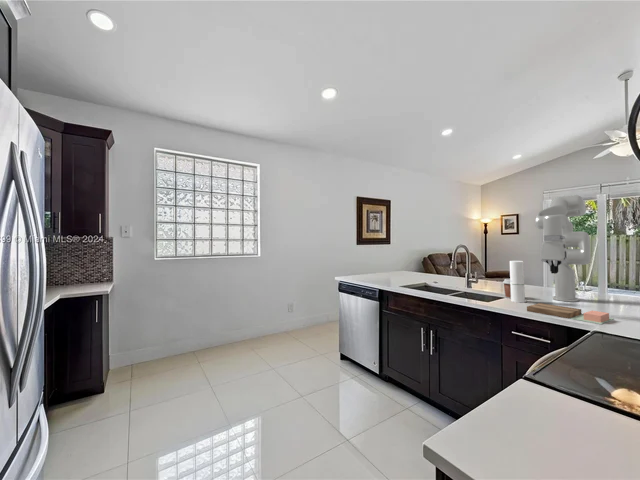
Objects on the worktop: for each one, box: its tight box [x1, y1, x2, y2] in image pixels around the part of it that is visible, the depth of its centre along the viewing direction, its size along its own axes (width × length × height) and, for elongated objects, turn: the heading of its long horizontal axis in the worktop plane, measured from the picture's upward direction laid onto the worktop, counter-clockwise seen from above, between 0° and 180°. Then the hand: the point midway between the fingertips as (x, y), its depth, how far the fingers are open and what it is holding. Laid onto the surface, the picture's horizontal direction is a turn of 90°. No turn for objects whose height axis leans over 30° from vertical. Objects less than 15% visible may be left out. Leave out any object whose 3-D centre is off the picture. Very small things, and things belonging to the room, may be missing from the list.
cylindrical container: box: [509, 260, 526, 304], centre depth 175 cm, size 7×7×25 cm
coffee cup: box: [502, 278, 511, 300], centre depth 185 cm, size 9×9×12 cm
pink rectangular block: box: [583, 310, 610, 323], centre depth 132 cm, size 9×6×3 cm, turn 117°
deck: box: [526, 302, 583, 320], centre depth 147 cm, size 14×18×2 cm
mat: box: [569, 313, 615, 325], centre depth 134 cm, size 15×11×1 cm
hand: (554, 273), depth 148 cm, fingers closed
